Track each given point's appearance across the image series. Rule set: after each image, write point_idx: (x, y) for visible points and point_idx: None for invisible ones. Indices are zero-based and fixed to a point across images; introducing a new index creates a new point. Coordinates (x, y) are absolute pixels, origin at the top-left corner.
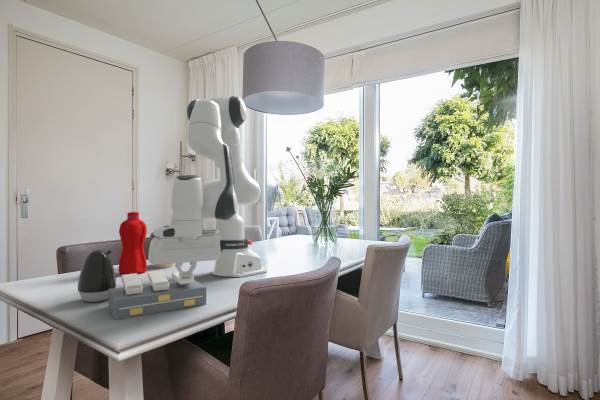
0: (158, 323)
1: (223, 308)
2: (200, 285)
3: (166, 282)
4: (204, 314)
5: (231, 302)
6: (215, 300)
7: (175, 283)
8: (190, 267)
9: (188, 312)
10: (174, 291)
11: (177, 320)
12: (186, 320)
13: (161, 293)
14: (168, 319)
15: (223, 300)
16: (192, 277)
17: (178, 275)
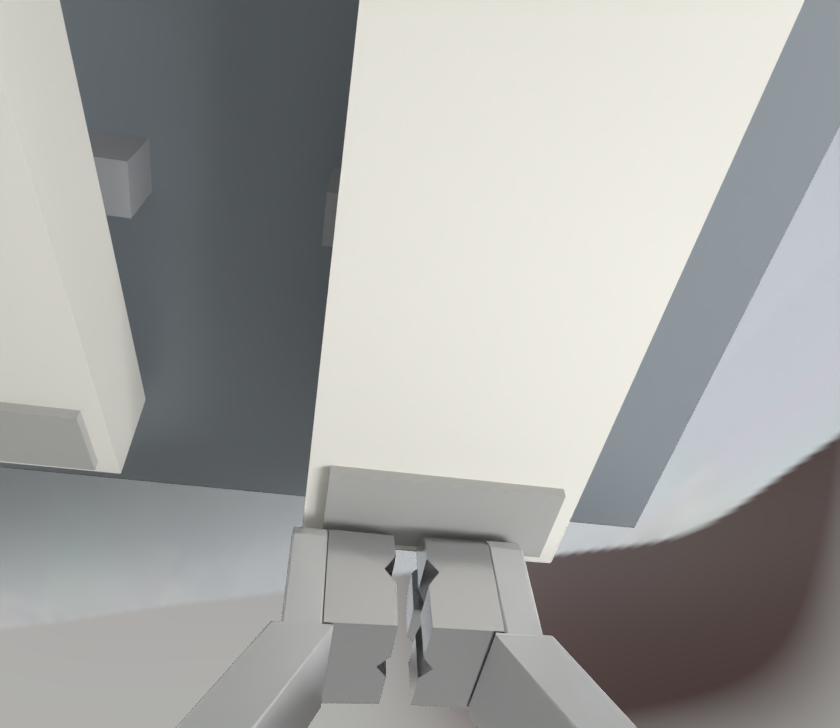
0: (38, 546)
1: (602, 548)
2: (647, 422)
3: (63, 441)
4: (407, 571)
5: (774, 474)
6: (738, 340)
7: (324, 226)
8: (546, 713)
9: None
10: (203, 476)
11: (184, 566)
12: (242, 594)
13: (14, 466)
14: (126, 520)
15: (786, 387)
16: (532, 548)
17: (394, 290)
